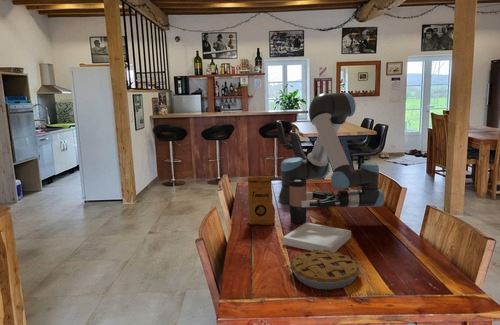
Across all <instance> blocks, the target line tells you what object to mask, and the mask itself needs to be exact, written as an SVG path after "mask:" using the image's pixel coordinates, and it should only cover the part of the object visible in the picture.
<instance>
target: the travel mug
mask: <svg viewBox="0 0 500 325" xmlns="http://www.w3.org/2000/svg"><path fill="white" fill-rule="evenodd" d="M289 181H290V204H289V220H290V224H291V225H295V226H301V225H303V224H304V223H306V222H307V208H308V207H302V201H308V199H307V197H306V193H307V180H306V179H303V178H293V179H290V180H289Z"/></svg>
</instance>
